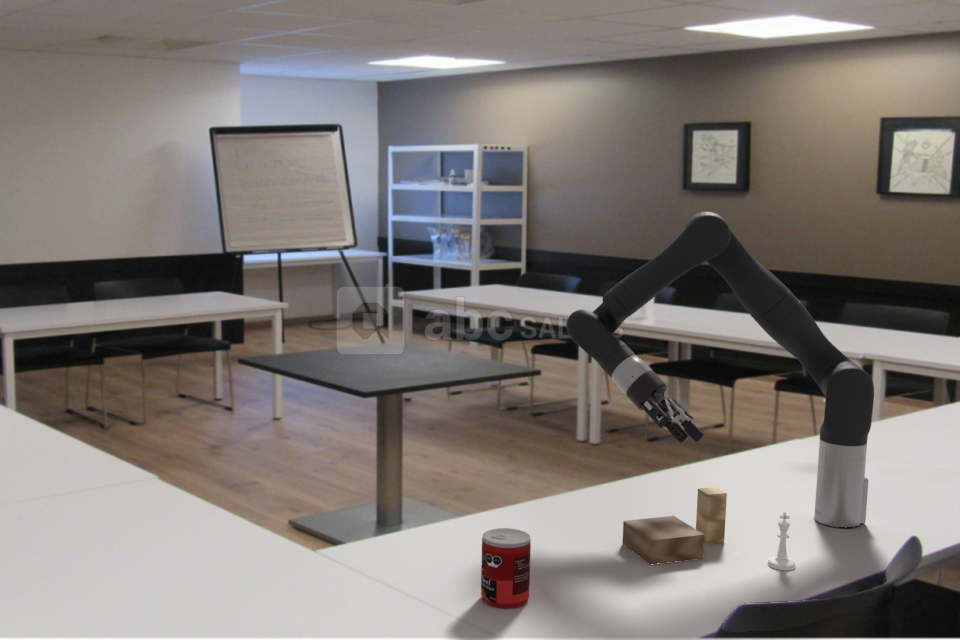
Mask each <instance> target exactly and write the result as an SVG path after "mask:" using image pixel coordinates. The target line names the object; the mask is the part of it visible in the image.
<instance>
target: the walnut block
mask: <svg viewBox="0 0 960 640" xmlns="http://www.w3.org/2000/svg"><path fill="white" fill-rule="evenodd" d="M622 523H623V525H622V544H623V545H622V546H624V545H625V546H626V547H625V546H624V547H625V548H627V549H628V550H629V549H630V550H629V551H631V552H632V551H633V552H634V554H635V553H636V554H637V555H638V556H637V557H639V556H640V557H641V558H640V557H639V558H640V559H642V558H643V559H644V560H645V561H644V560H643V559H642V560H643V561H644V562H646V561H647V562H648V563H649V564H648V563H647V562H646V563H647V564H648V565H650V564H657V563H665V564H668V563H667V562H673V563H676V562H675V561H681V562H686V561H685V560H690V561H696V560H695V559H698V560H703V559H704V551H705V544H704V534H703V533H701V532H699V531H698V530H696V527H693V526H692V525H690V524H688V523H687V522H685V521H683V520H682V519H680V518H678V517H676V516H675V515H669V516H668V515H667V516H666V515H665V516H659V517H658V516H657V517H647V518H639V519H629V520H628V519H627V520H623V522H622ZM633 552H632V553H633ZM636 554H635V555H636ZM693 559H694V560H693ZM657 565H658V564H657Z"/></svg>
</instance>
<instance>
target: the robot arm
mask: <svg viewBox="0 0 960 640" xmlns="http://www.w3.org/2000/svg"><path fill="white" fill-rule="evenodd" d="M705 262H706V263H707V264H708V265H710V266H711V268H712V269H714V270H715V271H716V273H718V274H719V275H720V276H721V277H722V278H723V280H724V281H725V282H726V283H727V285H728V286H729V288H730V290H731V291H732V292H733V294H734V296H735V297H736V298H737V300H738V301H739V302H740V304H741V305H742V307H743V308H744V309H745V311H746V312H748V314H749V315H750V317H751V318H753V320H754V321H755V322H756V323H757V324H758V325H759V326H760V328H762V329H763V331H764V332H765V333H766V334H767V335H768V336H769V337H770V338H771V339H772V340H774V341H775V342H776V343H777V344H778V345H779V346H780V347H782V348H783V349H784V350H786V352H788V353H789V354H790V355H792V356H793V358H795V359H796V360H797V361H798V362H799V363H800V364H801V365H802V366H803V367H804V369H805V370H806V371H807V372H808V374H809V376H811V377H812V379H813V380H814V382H815V383H816V384H817V386H818V388H819V389H820V390H821V392H822V394H823V395H824V397H825V401H824V402H825V403H824V413H823V414H824V415H823V421H822V424H821V425H820V428H819V429H820V430H819V443H818V445H819V446H818V458H817V459H818V460H817V470H816V471H817V473H816V474H817V475H816V484H815V485H816V489H815V491H816V492H815V499H814V501H815V503H814V515H813V516H814V517H813V518H814V520H815V521H816V522H818V523H819V524H822V525H825V526H828V525H829V526H828V527H834V528H839V527H845V528H844V529H848V528H847V527H853V528H856V527H855V526H858V525H860V524H861V523H864V524H866V519H867V518H866V517H867V505H868V492H869V479H868V478H867V477H866V462H867V447H868V438H869V437H868V436H869V433H870V432H871V427H872V421H873V409H874V401H875V400H874V398H875V386H874V381H873V379H872V378H871V376H870V374H869V373H868V372H867V371H865V369H863V368H862V367H861V366H859V365H858V364H856V363H855V362H853V361H852V360H851V359H850V358H849V357H847V356H846V355H845V354H844V353H843V352H842V351H840V350H839V349H838V348H837V347H836V346H835V345H834V344H833V343H832V342H831V341H830V340H829V339H828V338H827V336H825V334H824V333H823V332H822V329H821V328H820V327H819V325H818V324H817V322H816V320H815V319H814V318H813V316H812V315H811V313H810V312H809V311H808V309H807V308H806V307H805V306H804V304H803V303H802V302H801V301H800V300H799V299H798V297H796V295H795V294H794V293H793V292H792V291H791V290H790V289H789V287H787V286H786V285H785V284H784V283H783V282H782V281H781V280H780V279H779V278H778V277H777V276H776V275H775V274H773V272H771V271H770V270H768V269H767V268H766V267H765V266H764V265H763V264H761V263H760V262H759V261H758V260H757V259H756V258H754V257H753V256H752V255H751V253H749V251H748V250H747V249H746V248H745V246H744V245H743V244H742V243H741V241H740V240H739V239H738V238H737V236H736V235H735V233H734V232H733V231H732V229H731V227H730V226H729V224H728V223H727V221H726V220H725V218H723V217H722V216H721V215H719V214H718V213H715V212H712V211H701V212H698V213H696V214H694V215H692V216H691V217H690V218H689V219H688V221H687V222H686V224H685V227H684V229H683V231H682V232H681V233H680V235H678V237H677V238H676V239H675V240H674V241H673V242H672V243H671V244H670V245H669V246H668V247H666V248H665V249H664V250H663V251H662V252H661V253H659V254H658V255H657V256H655V257H654V258H653V259H651V260H649V261H648V262H646V263H645V264H643V265H642V266H640V267H638V268H637V269H635V270H634V271H632V272H630V273H629V274H628V275H626V276H625V277H624V278H623V279H621V280H620V281H619V282H618V283H616V284H615V285H614V286H612V287H611V288H610V289H609V290H607V291H606V292H605V293H604V295H603V297H602V303H601V304H599V306H597V307H596V309H594V310H593V311H591V310H588V309H578V310H575V311H573V312H572V313H571V314H569V316H568V317H567V320H566V324H565V325H566V331H567V333H568V336H569V337H570V338H571V340H572V341H573V342H574V343H575V344H576V345H577V346H579V348H581V349H582V350H583V351H584V352H585V353H586V354H587V355H589V356H590V357H591V358H592V359H594V361H595V362H596V363H597V364H598V365H599V366H600V368H601V369H602V370H603V371H604V372H605V373H606V374H607V375H608V376H609V377H610V379H612V381H613V383H614V384H615V385H616V387H618V388H619V390H621V392H622V393H623V395H625V396H626V397H627V398H628V400H630V402H632V403H633V405H634V406H635V407H636V408H637V409H638V410H639V411H644V412H645V413H646V414H647V415H648V416H649V417H650V418H651V420H653V422H654V423H655V424H656V425H657V427H658V428H660V429H664V430H666V431H669V433H670V434H671V435H672V436H673V437H674V438H675V439H676V440H677V441H678V442H679V443H681V444H683V443H685V442H686V441H687V440H688V439H689V437H690V438H691V439H692V440H693V441H694V442H695V443H699V442H701V440H702V439H703V438H704V437H705V434H704V432H702V430H701V429H699V428H698V426H697V425H696V424H695V423H694V422H693V420H694V417H693V415H691V414H690V413H689V412H688V411H687V410H686V409H685V407H683V406H682V405H681V404H680V403H679V402H678V401H677V400H676V399H675V398H672V399H671V398H668V397H666V396H665V393H666V391H667V388H668V386H667V385H668V384H667V383H666V382H665V381H663V379H662V378H660V376H659V375H658V374H657V373H656V372H655V371H654V370H653V369H652V368H651V367H650V366H649V365H648V364H647V362H645V361H644V360H643V359H641V358H640V357H639V356H637V354H636V353H635V352H634V351H633V350H632V349H631V348H630V347H629V346H628V345H627V344H626V343H624V341H622V340H621V339H619V338H617V336H615V335H614V333H615V332H616V331H617V330H618V329H619V328H620V326H621V325H622V324H623V323H624V321H626V319H628V318H629V317H631V316H632V315H634V314H635V313H636V312H638V311H639V310H640V309H641V308H643V307H644V306H645V305H646V304H647V303H649V302H650V301H651V300H652V299H654V298H655V297H656V296H658V295H659V294H660V293H661V292H662V291H663V290H665V289H666V288H667V287H668V286H670V284H672V283H674V282H675V281H676V280H678V279H679V278H680V277H682V276H683V275H685V274H686V273H688V272H689V271H691V270H692V269H695V268H696V267H698V266H700V265H703V263H705ZM683 419H684V420H683ZM861 525H862V524H861ZM861 525H860V526H861ZM858 527H859V526H858Z"/></svg>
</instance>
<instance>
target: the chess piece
mask: <svg viewBox="0 0 960 640" xmlns="http://www.w3.org/2000/svg"><path fill="white" fill-rule="evenodd" d="M779 519H782V520H780V521H778V528H779V531H780V532H779V533H777V537H778V538H780V540H779V545H778V550H777V554H776V555H775V556H772V557H770V558H768V560H767V565H768V566H769V568H772V569H775V570H779V571H792V570H795V569H796V562H795V560H793V559H791V558H790V557H789V555H788V554H787V553H788V552H787V539H790V534H789V533H788V532H789V531H788V530H789V528H790V526H791V523H790V522H789V521H787V520H790V515H787V512H785V511H784V512H783V515H782V514H781V515H779Z"/></svg>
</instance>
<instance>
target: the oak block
mask: <svg viewBox="0 0 960 640" xmlns="http://www.w3.org/2000/svg"><path fill="white" fill-rule="evenodd" d="M696 497H697V500H696V501H697V502H696V517H695V518H696V520H695V529H696V530H698V531H699V532H701V533H703V534H704V545H707V546H708V544H709V545H715V544H716V545H717V544H724V543H725V536H726V535H725V533H726V518H727V517H726V513H727V497H728V493H727V492H726V491H724V490H722V489H720V488H719V487H716V486H714V487H710V486H709V487H701V488H697V496H696Z"/></svg>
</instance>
